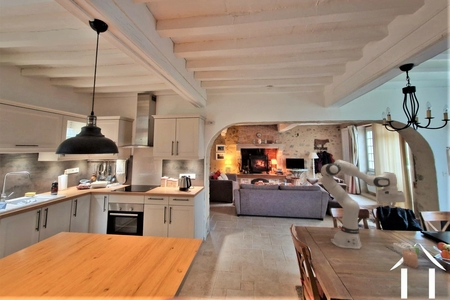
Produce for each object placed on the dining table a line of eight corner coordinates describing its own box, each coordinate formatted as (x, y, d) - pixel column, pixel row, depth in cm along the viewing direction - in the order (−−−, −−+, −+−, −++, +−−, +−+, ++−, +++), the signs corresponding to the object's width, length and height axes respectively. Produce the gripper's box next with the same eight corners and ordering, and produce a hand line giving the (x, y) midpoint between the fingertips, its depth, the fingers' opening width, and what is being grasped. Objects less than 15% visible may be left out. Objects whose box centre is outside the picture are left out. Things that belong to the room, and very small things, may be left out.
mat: (405, 257, 128) (405, 257, 128) (386, 247, 144) (386, 246, 144) (424, 258, 127) (424, 257, 127) (403, 247, 143) (403, 246, 143)
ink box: (419, 247, 132) (403, 248, 132) (419, 254, 131) (403, 255, 132) (407, 242, 140) (392, 242, 140) (407, 248, 140) (393, 249, 140)
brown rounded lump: (410, 267, 117) (409, 255, 118) (400, 261, 124) (399, 250, 125) (421, 267, 117) (420, 255, 117) (410, 261, 124) (409, 250, 124)
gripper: (399, 190, 153) (401, 206, 152) (375, 190, 154) (376, 206, 153) (407, 191, 146) (408, 208, 146) (381, 192, 147) (382, 208, 147)
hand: (391, 207), depth 149 cm, fingers closed
